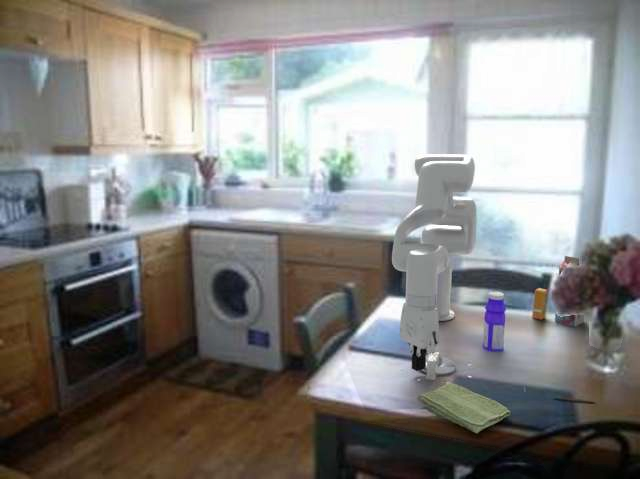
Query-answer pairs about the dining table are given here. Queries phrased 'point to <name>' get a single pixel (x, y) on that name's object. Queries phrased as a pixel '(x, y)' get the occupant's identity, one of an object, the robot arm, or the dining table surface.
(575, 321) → the juice carton
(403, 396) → the dining table surface
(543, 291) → the supplement box
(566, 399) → the fork
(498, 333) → the bottle
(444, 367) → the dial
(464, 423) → the washcloth
